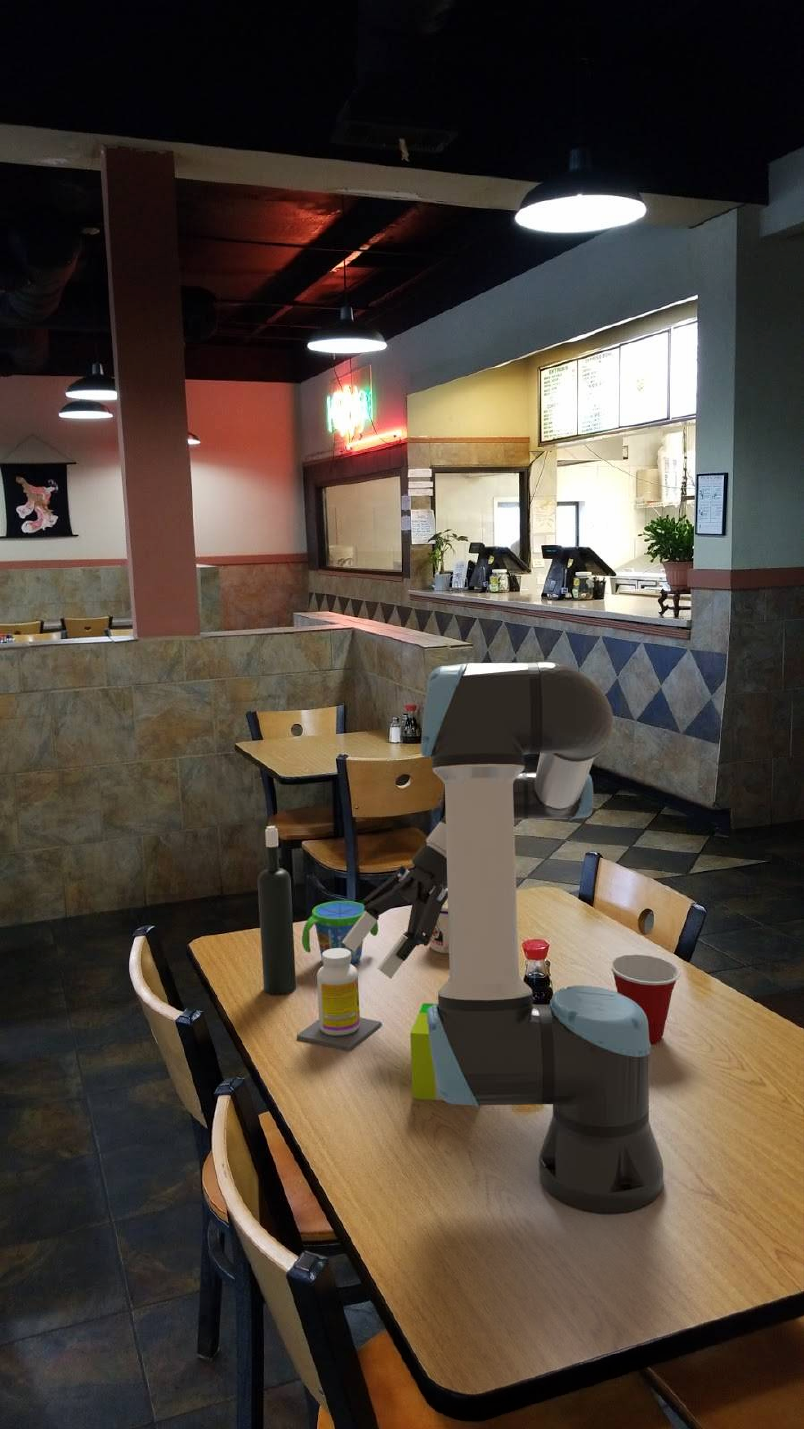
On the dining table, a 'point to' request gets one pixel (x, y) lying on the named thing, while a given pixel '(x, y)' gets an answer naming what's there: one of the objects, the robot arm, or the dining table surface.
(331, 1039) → the coaster
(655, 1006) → the plastic cup
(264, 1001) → the dining table surface
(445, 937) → the teacup with lid
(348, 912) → the snack cup
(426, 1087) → the puzzle toy
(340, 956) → the supplement bottle
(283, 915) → the wine bottle
